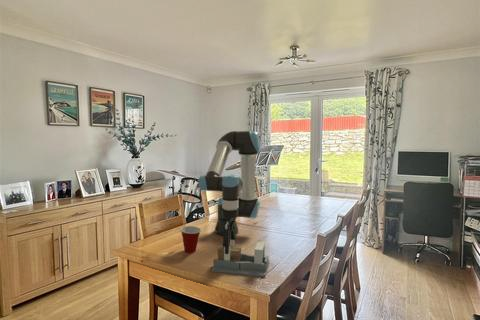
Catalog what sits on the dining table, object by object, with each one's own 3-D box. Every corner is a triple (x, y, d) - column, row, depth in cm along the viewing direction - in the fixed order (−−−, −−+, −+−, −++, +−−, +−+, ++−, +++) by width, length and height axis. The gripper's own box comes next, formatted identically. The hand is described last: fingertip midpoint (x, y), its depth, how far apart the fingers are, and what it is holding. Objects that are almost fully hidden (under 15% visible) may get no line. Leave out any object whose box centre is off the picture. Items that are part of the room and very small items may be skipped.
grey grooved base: (221, 257, 145) (221, 236, 144) (269, 262, 140) (269, 241, 139) (211, 271, 129) (212, 248, 128) (265, 277, 124) (265, 253, 123)
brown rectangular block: (220, 259, 139) (220, 245, 139) (240, 261, 137) (241, 247, 137) (217, 263, 134) (217, 249, 134) (238, 266, 132) (238, 251, 132)
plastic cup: (195, 256, 146) (195, 232, 145) (176, 253, 149) (176, 230, 148) (204, 248, 156) (204, 227, 155) (186, 246, 159) (186, 224, 159)
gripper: (227, 203, 145) (227, 248, 146) (215, 213, 125) (215, 264, 126) (242, 204, 143) (241, 249, 145) (232, 214, 123) (231, 266, 125)
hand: (229, 256), depth 135 cm, fingers open, 8 cm apart
